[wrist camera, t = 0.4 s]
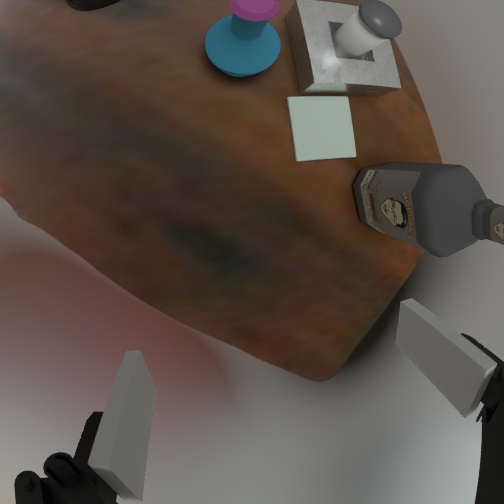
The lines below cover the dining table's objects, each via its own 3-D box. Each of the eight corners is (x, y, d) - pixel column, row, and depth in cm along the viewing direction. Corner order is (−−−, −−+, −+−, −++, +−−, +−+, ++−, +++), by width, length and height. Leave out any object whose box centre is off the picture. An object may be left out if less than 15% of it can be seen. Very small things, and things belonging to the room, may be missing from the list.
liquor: (396, 160, 39) (572, 176, 11) (405, 216, 42) (566, 275, 13) (347, 171, 39) (540, 194, 10) (359, 231, 42) (528, 319, 13)
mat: (286, 98, 35) (287, 97, 34) (345, 97, 36) (347, 96, 35) (295, 161, 38) (296, 161, 37) (354, 156, 38) (356, 156, 38)
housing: (285, 18, 31) (295, -1, 26) (362, 25, 33) (380, 11, 27) (299, 94, 35) (314, 82, 29) (379, 96, 36) (401, 88, 31)
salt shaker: (319, 34, 31) (356, -5, 20) (352, 37, 31) (394, 4, 20) (326, 65, 32) (368, 32, 21) (359, 67, 33) (406, 40, 21)
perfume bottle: (275, 34, 32) (306, -22, 18) (269, 89, 34) (302, 46, 20) (210, 26, 31) (212, -35, 16) (200, 82, 33) (195, 32, 19)
